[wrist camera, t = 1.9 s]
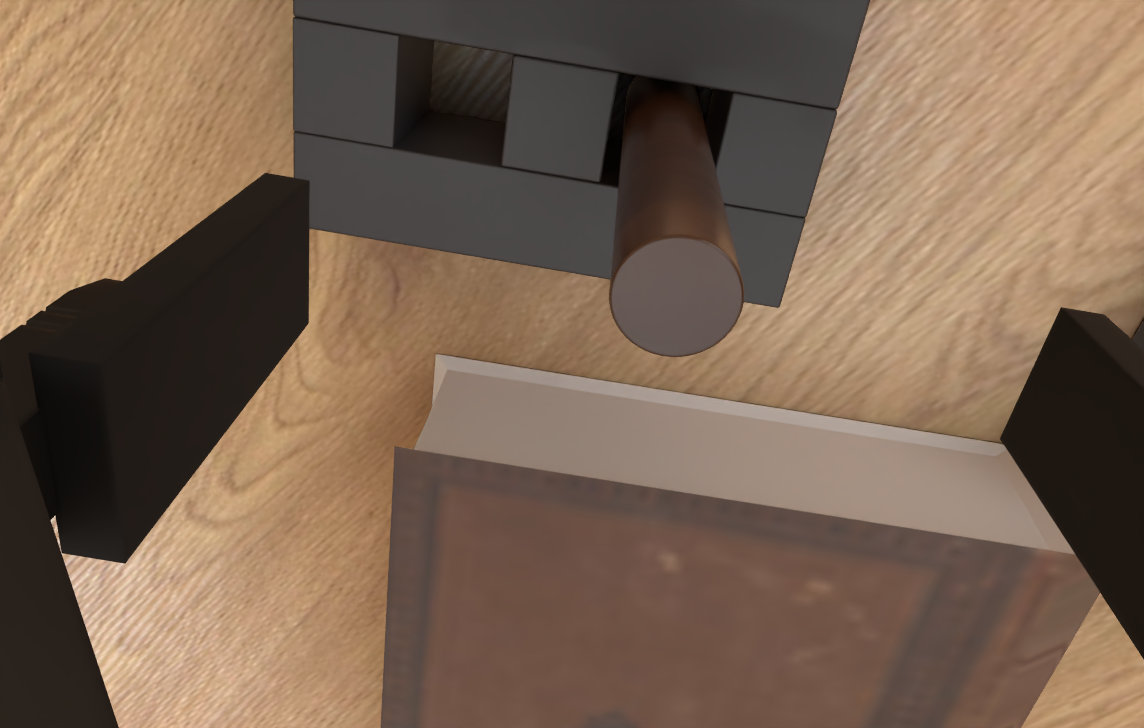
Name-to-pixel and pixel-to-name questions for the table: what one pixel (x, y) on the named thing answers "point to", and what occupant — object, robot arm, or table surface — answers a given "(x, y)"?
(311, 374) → the table surface
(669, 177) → the stirring stick
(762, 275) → the holder
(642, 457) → the book
